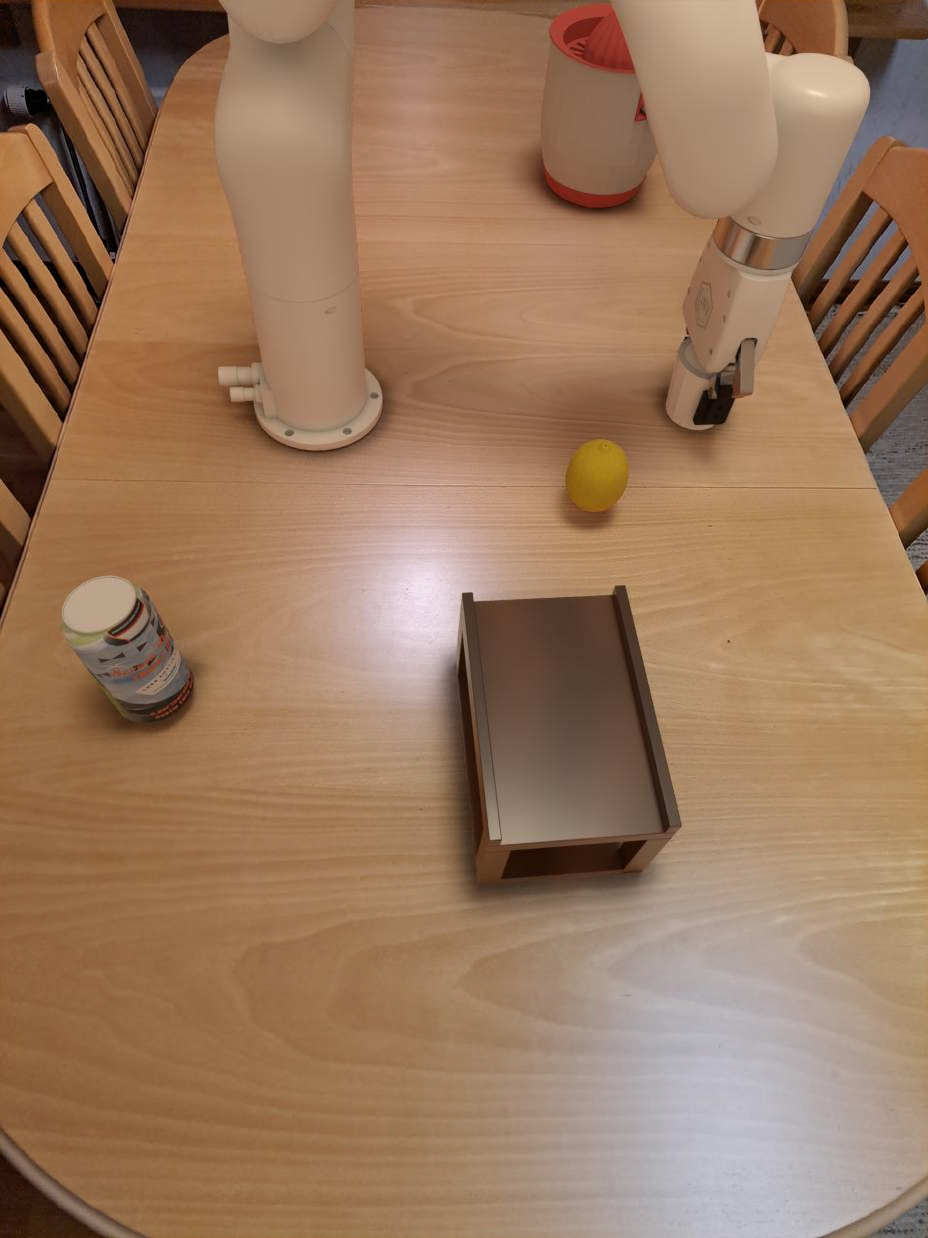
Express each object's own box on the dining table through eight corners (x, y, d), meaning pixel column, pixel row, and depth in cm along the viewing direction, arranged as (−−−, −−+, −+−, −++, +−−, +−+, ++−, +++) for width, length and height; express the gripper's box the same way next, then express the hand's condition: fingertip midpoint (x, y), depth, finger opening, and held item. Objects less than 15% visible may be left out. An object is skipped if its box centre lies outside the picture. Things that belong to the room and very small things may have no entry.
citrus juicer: (598, 242, 99) (637, 59, 83) (505, 173, 106) (523, -9, 89) (686, 200, 105) (739, 21, 88) (593, 138, 112) (625, -40, 95)
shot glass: (724, 440, 83) (748, 386, 77) (656, 427, 83) (675, 373, 78) (726, 393, 87) (750, 339, 81) (662, 381, 87) (680, 326, 81)
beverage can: (160, 745, 63) (111, 669, 52) (88, 697, 64) (28, 615, 54) (215, 683, 66) (179, 601, 55) (146, 639, 67) (99, 551, 57)
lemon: (579, 536, 76) (595, 477, 69) (548, 494, 78) (561, 433, 71) (629, 516, 77) (650, 457, 70) (597, 475, 80) (615, 414, 73)
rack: (477, 885, 58) (489, 841, 50) (455, 662, 68) (461, 592, 59) (642, 871, 60) (682, 826, 51) (598, 654, 69) (625, 584, 60)
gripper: (693, 172, 72) (644, 338, 88) (746, 300, 63) (682, 461, 78) (775, 172, 73) (712, 337, 88) (839, 299, 64) (758, 458, 79)
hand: (698, 394), depth 83 cm, fingers closed on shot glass, 6 cm apart
